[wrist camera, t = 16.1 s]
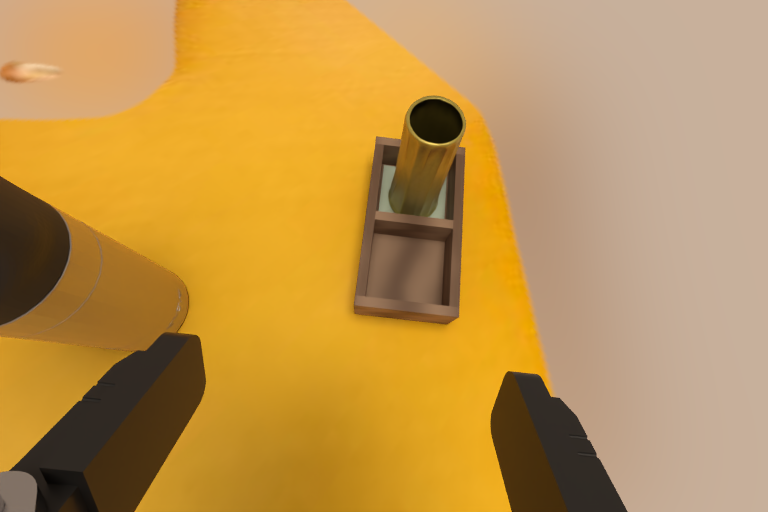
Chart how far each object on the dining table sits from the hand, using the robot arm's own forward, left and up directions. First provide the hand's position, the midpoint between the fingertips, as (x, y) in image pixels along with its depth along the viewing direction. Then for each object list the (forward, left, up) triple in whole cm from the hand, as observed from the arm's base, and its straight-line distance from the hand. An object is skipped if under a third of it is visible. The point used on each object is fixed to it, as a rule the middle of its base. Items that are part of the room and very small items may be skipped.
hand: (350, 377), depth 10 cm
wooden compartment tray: (+4, +17, -31) cm, 35 cm away
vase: (+4, +21, -29) cm, 36 cm away
